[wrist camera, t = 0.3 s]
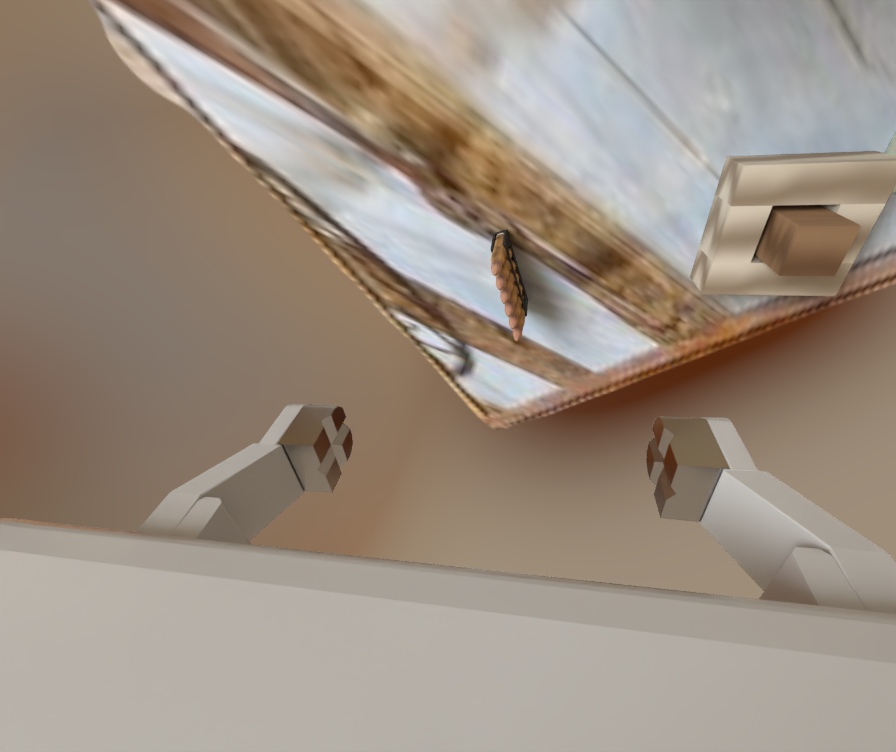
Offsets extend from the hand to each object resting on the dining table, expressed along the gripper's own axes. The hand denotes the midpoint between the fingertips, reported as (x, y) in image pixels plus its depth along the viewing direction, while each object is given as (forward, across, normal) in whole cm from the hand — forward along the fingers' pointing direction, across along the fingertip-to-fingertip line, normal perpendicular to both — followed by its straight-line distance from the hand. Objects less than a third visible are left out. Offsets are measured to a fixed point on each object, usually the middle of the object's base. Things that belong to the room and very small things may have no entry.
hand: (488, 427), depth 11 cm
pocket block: (+47, -28, +10) cm, 56 cm away
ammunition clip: (+47, +2, +15) cm, 50 cm away
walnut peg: (+47, -28, +10) cm, 56 cm away
